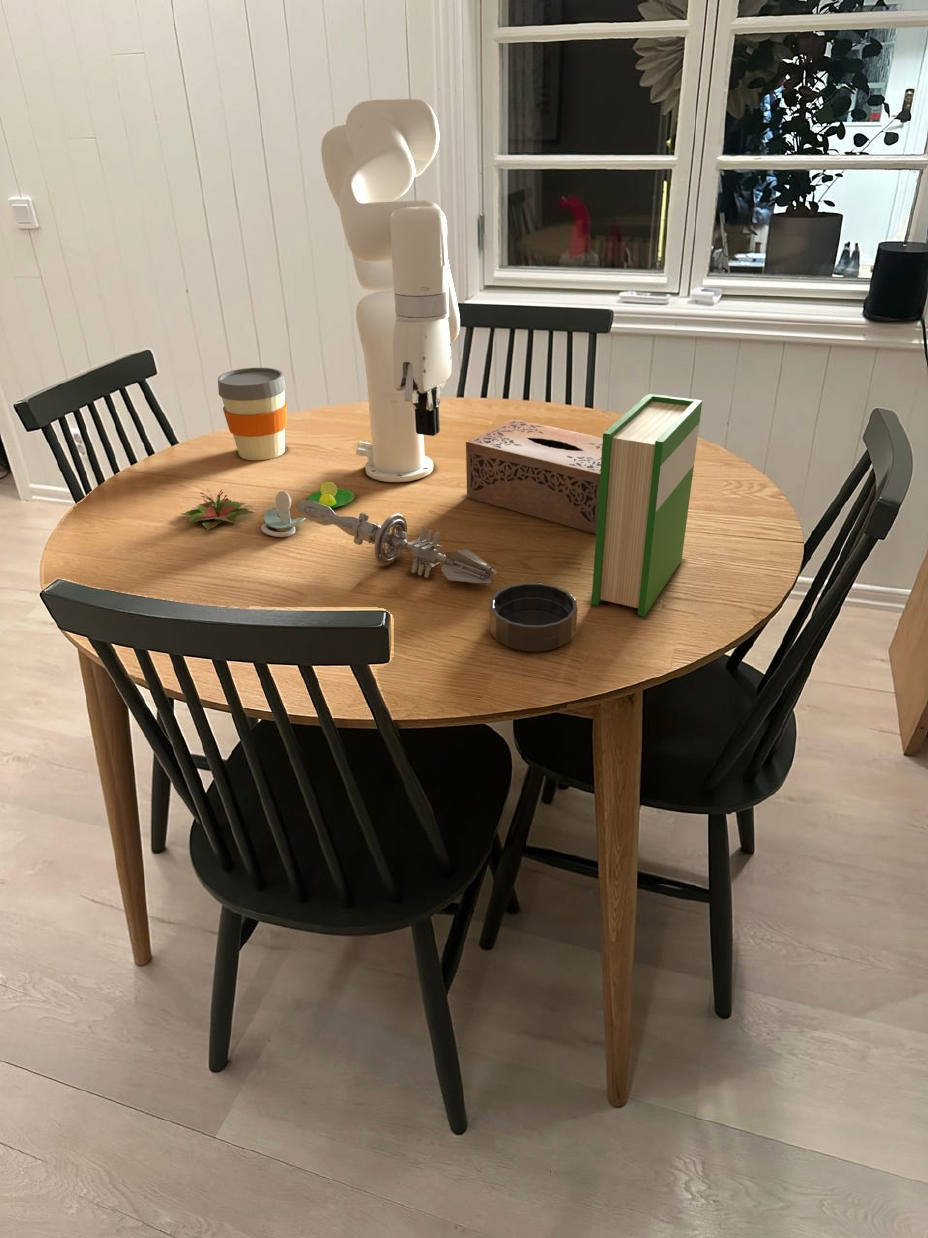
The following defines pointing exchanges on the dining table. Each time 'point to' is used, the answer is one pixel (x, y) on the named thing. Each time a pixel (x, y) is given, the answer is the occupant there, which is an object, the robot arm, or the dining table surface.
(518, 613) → the ashtray
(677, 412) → the hardback book
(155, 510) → the dining table surface
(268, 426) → the reusable coffee cup
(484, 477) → the tissue box cover
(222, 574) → the dining table surface
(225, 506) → the lily flower
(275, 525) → the pacifier
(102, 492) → the dining table surface
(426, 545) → the spaceship
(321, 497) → the green plate with lemon
